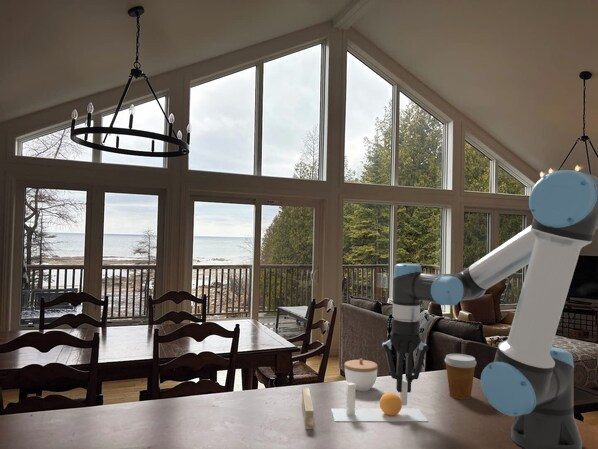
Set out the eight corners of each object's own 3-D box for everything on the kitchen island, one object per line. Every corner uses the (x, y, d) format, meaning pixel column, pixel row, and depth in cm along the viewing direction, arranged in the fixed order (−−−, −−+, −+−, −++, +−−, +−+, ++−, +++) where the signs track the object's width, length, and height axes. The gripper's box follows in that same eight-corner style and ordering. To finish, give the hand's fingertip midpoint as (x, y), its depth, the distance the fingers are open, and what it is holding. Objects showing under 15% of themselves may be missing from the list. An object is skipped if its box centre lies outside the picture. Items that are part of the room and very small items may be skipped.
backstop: (308, 403, 136) (308, 387, 136) (313, 428, 118) (313, 410, 119) (301, 403, 136) (302, 387, 136) (305, 428, 118) (305, 410, 118)
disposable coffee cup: (444, 399, 142) (444, 359, 142) (444, 389, 151) (444, 352, 151) (477, 402, 139) (477, 362, 140) (475, 392, 148) (475, 354, 149)
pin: (356, 414, 128) (357, 383, 128) (352, 417, 126) (352, 385, 126) (349, 412, 130) (349, 382, 130) (344, 415, 128) (345, 384, 128)
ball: (406, 394, 129) (387, 384, 129) (404, 412, 124) (384, 402, 124) (396, 405, 133) (377, 395, 133) (394, 423, 128) (374, 413, 128)
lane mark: (417, 409, 133) (417, 408, 133) (427, 421, 124) (427, 420, 124) (330, 409, 132) (331, 408, 132) (334, 421, 123) (334, 420, 123)
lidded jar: (376, 394, 145) (377, 364, 145) (342, 391, 147) (342, 362, 148) (377, 384, 156) (378, 355, 156) (345, 381, 158) (346, 353, 158)
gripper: (425, 317, 134) (422, 399, 134) (380, 315, 134) (377, 397, 133) (433, 322, 126) (430, 409, 126) (385, 321, 126) (382, 408, 126)
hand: (403, 403), depth 130 cm, fingers closed
